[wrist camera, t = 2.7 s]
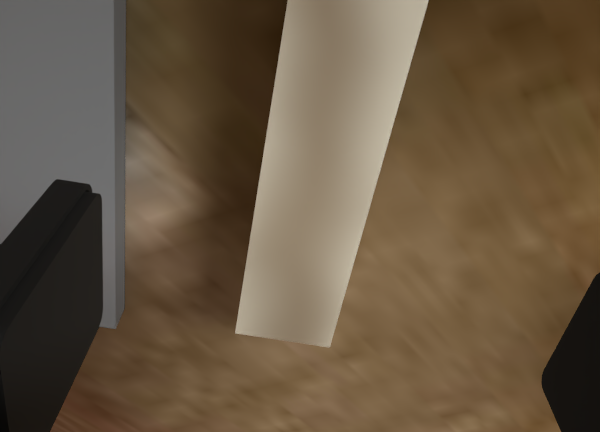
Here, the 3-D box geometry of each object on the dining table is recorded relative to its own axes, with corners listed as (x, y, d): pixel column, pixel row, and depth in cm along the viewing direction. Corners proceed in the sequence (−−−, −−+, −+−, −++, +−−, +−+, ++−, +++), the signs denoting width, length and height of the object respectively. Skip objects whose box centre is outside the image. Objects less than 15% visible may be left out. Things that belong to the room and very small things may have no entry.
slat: (480, -318, 17) (535, -375, 12) (328, 273, 28) (329, 347, 24) (345, -349, 16) (353, -419, 12) (247, 260, 28) (235, 333, 24)
